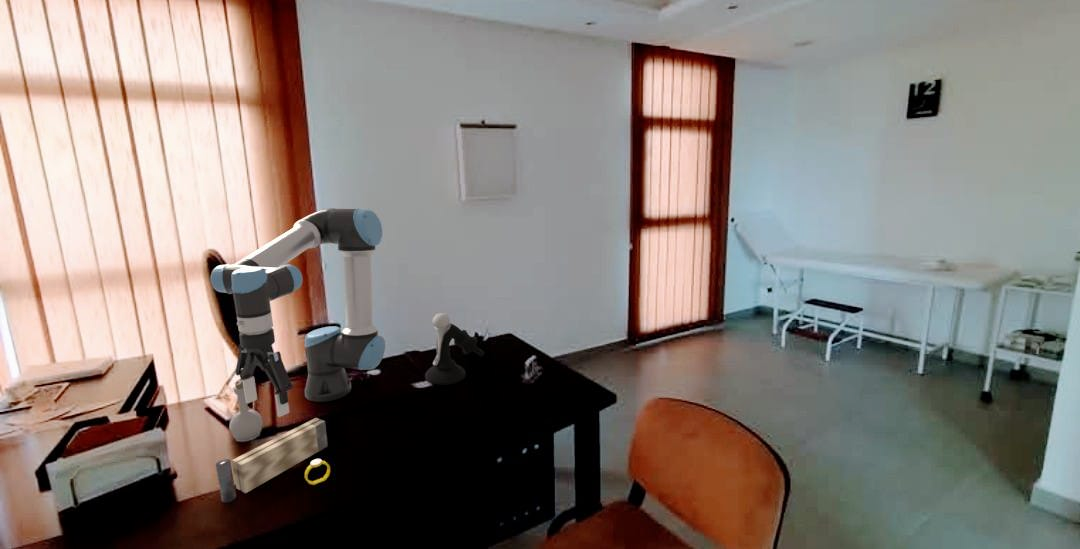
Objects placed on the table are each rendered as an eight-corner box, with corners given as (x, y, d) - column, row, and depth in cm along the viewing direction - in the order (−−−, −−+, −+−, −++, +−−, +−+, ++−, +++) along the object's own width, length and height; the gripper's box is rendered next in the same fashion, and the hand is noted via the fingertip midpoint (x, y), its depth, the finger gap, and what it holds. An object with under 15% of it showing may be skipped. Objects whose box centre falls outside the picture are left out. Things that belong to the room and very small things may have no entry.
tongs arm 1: (240, 490, 128) (235, 462, 126) (236, 488, 129) (231, 460, 127) (322, 444, 148) (319, 419, 146) (318, 442, 149) (315, 417, 147)
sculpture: (419, 372, 197) (416, 310, 191) (476, 360, 208) (475, 301, 202) (432, 388, 184) (429, 322, 178) (492, 374, 195) (491, 312, 189)
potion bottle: (270, 430, 156) (263, 376, 152) (245, 446, 148) (237, 389, 143) (249, 425, 159) (241, 372, 154) (223, 440, 150) (214, 384, 146)
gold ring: (308, 489, 129) (304, 469, 128) (305, 484, 131) (301, 464, 130) (332, 478, 133) (328, 459, 131) (329, 473, 135) (325, 454, 133)
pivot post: (226, 504, 124) (220, 467, 121) (219, 500, 125) (213, 464, 123) (238, 497, 126) (232, 461, 124) (231, 493, 128) (225, 457, 125)
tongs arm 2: (245, 493, 127) (241, 465, 125) (241, 491, 128) (237, 462, 126) (327, 446, 147) (325, 421, 145) (323, 444, 148) (320, 419, 146)
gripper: (212, 325, 129) (224, 401, 134) (272, 344, 117) (283, 427, 122) (242, 317, 136) (252, 390, 141) (302, 334, 124) (311, 413, 129)
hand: (267, 407), depth 132 cm, fingers open, 13 cm apart
